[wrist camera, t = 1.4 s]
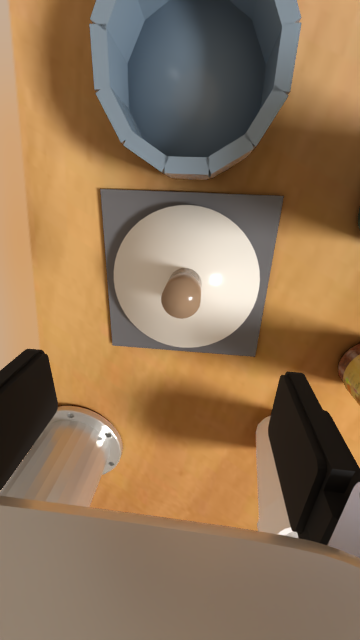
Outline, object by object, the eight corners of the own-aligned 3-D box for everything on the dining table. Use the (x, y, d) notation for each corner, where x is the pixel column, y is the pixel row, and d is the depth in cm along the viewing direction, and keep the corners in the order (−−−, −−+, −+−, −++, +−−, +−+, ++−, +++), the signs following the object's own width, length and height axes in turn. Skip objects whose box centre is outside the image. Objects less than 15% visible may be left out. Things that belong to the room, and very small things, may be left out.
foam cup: (232, 445, 35) (244, 567, 24) (261, 393, 32) (294, 508, 20) (298, 465, 36) (343, 596, 24) (335, 417, 32) (410, 543, 20)
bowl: (260, 182, 23) (276, 176, 18) (123, 177, 24) (100, 171, 19) (289, -20, 18) (322, -106, 13) (114, -17, 19) (80, -97, 14)
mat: (254, 354, 30) (255, 356, 29) (113, 343, 31) (112, 345, 30) (282, 196, 23) (283, 196, 23) (102, 189, 24) (100, 188, 24)
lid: (247, 347, 29) (255, 378, 24) (120, 338, 30) (103, 366, 25) (269, 208, 23) (286, 210, 18) (112, 201, 24) (87, 202, 19)
